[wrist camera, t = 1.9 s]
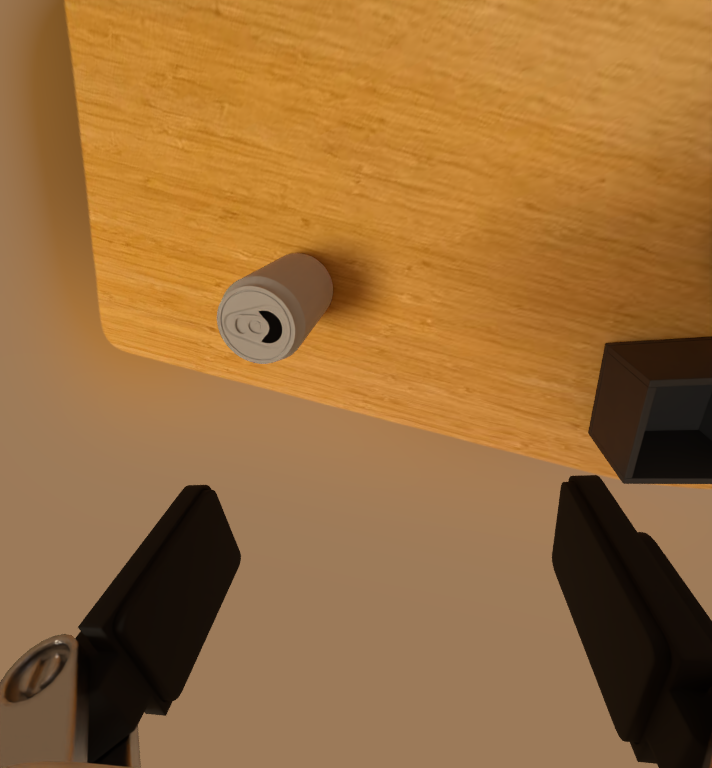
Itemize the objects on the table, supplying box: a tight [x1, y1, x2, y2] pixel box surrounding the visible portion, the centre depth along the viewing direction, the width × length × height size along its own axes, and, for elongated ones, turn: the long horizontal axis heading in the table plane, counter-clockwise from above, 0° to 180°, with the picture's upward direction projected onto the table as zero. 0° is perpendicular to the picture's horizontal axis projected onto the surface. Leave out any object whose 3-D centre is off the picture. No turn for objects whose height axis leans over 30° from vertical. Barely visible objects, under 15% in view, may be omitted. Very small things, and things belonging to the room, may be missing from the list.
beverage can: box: [217, 253, 333, 364], centre depth 31 cm, size 6×6×12 cm
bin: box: [588, 337, 712, 484], centre depth 32 cm, size 10×10×8 cm
